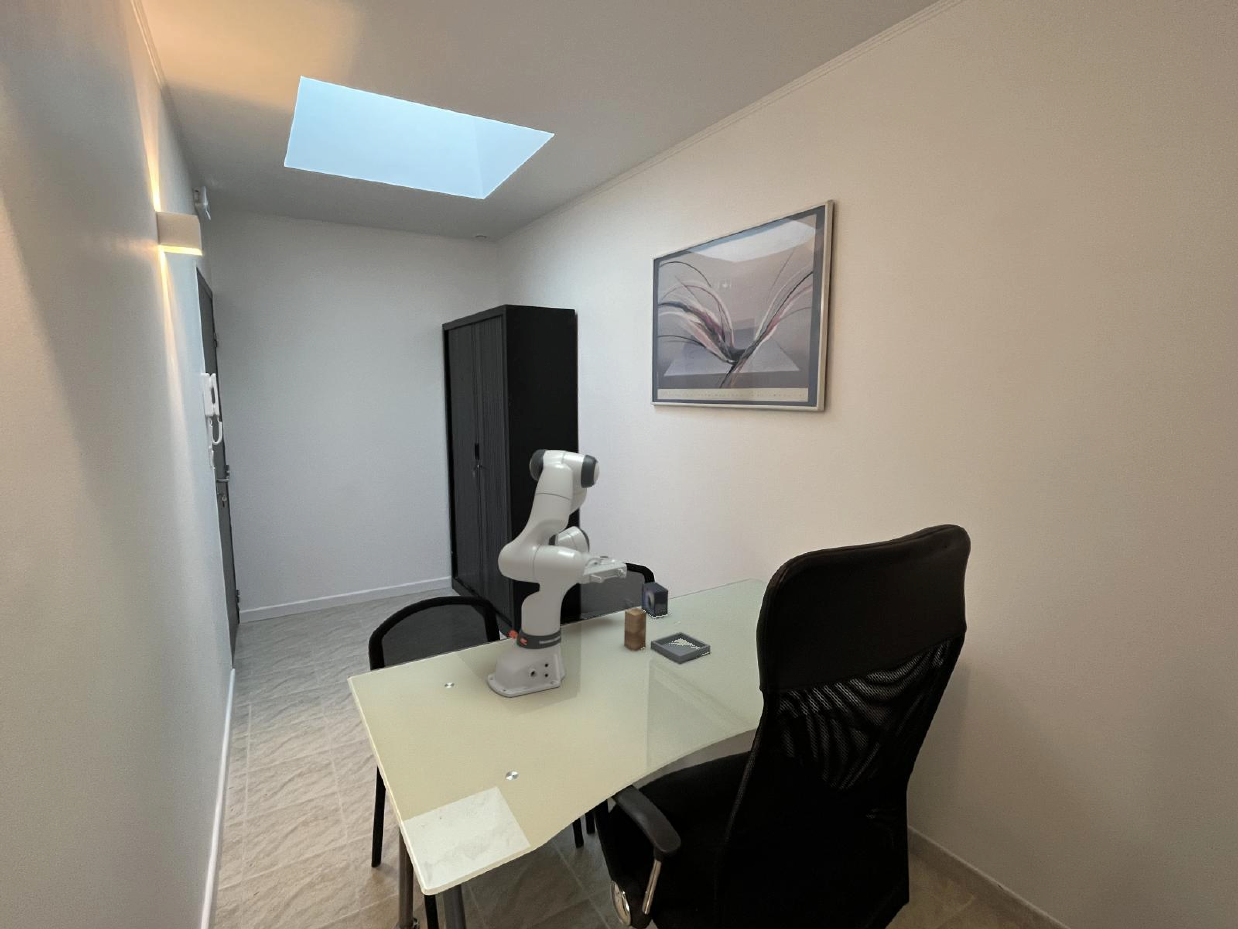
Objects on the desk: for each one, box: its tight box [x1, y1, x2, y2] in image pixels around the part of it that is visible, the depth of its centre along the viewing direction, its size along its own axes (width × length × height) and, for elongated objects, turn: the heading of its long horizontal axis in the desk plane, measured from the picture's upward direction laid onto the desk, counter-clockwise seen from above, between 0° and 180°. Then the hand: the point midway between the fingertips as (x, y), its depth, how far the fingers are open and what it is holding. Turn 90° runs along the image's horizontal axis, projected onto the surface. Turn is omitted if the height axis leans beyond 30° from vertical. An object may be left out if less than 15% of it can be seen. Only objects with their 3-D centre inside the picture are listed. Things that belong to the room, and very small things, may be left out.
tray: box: [650, 631, 711, 665], centre depth 193 cm, size 14×14×2 cm
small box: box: [640, 581, 669, 617], centre depth 225 cm, size 11×6×10 cm, turn 25°
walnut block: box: [623, 607, 648, 652], centre depth 195 cm, size 5×5×12 cm
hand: (613, 578), depth 203 cm, fingers open, 8 cm apart
